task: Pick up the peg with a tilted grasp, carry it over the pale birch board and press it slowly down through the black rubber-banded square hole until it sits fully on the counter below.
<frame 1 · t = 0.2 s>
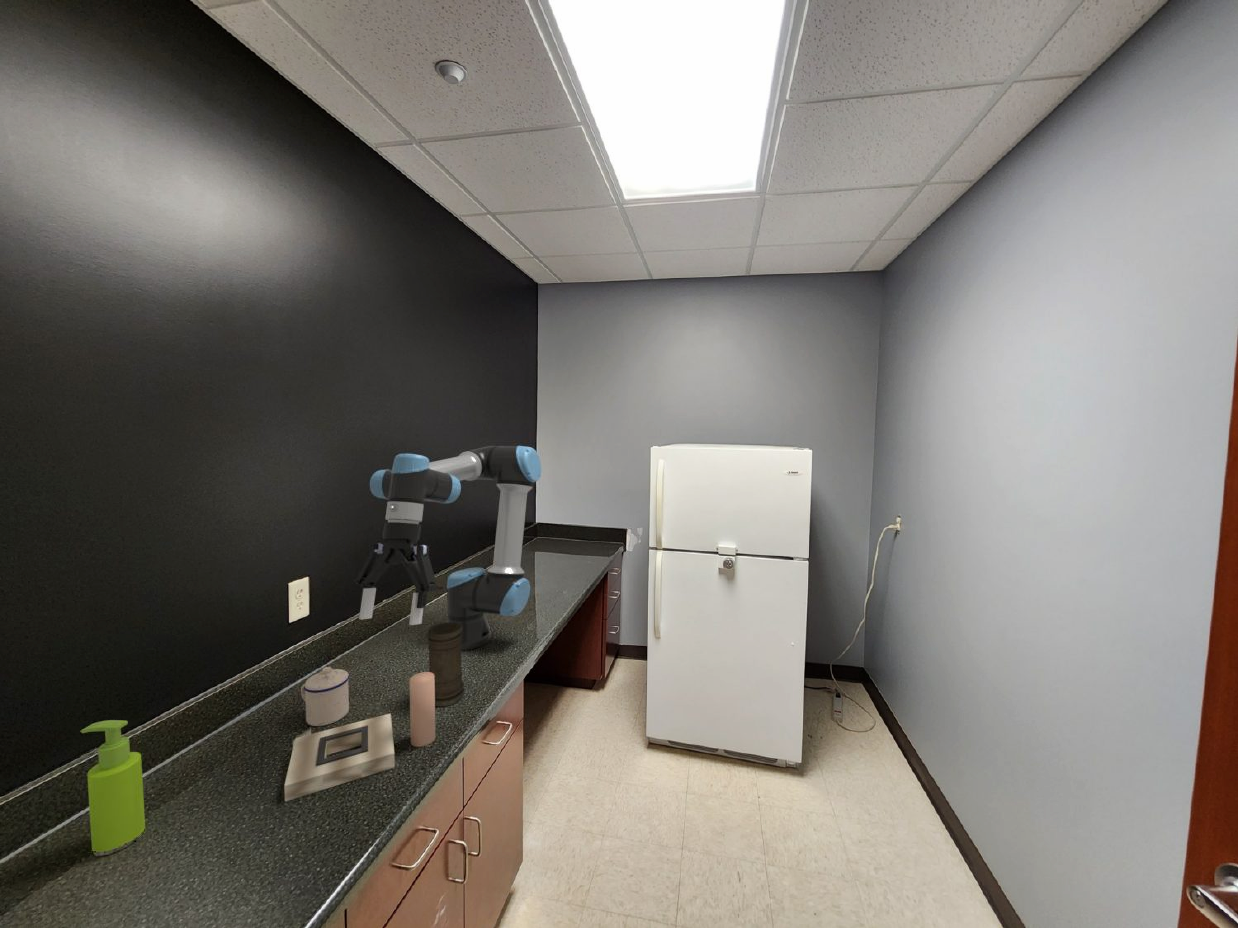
hand: (389, 621, 98), 27 cm above the worktop, tool pointing down, fingers open, 13 cm apart
band board: (344, 759, 94), on the worktop
soap dispenser: (116, 841, 75), on the worktop
peg: (423, 739, 100), on the worktop
container: (446, 697, 117), on the worktop
teacup with lid: (323, 715, 109), on the worktop
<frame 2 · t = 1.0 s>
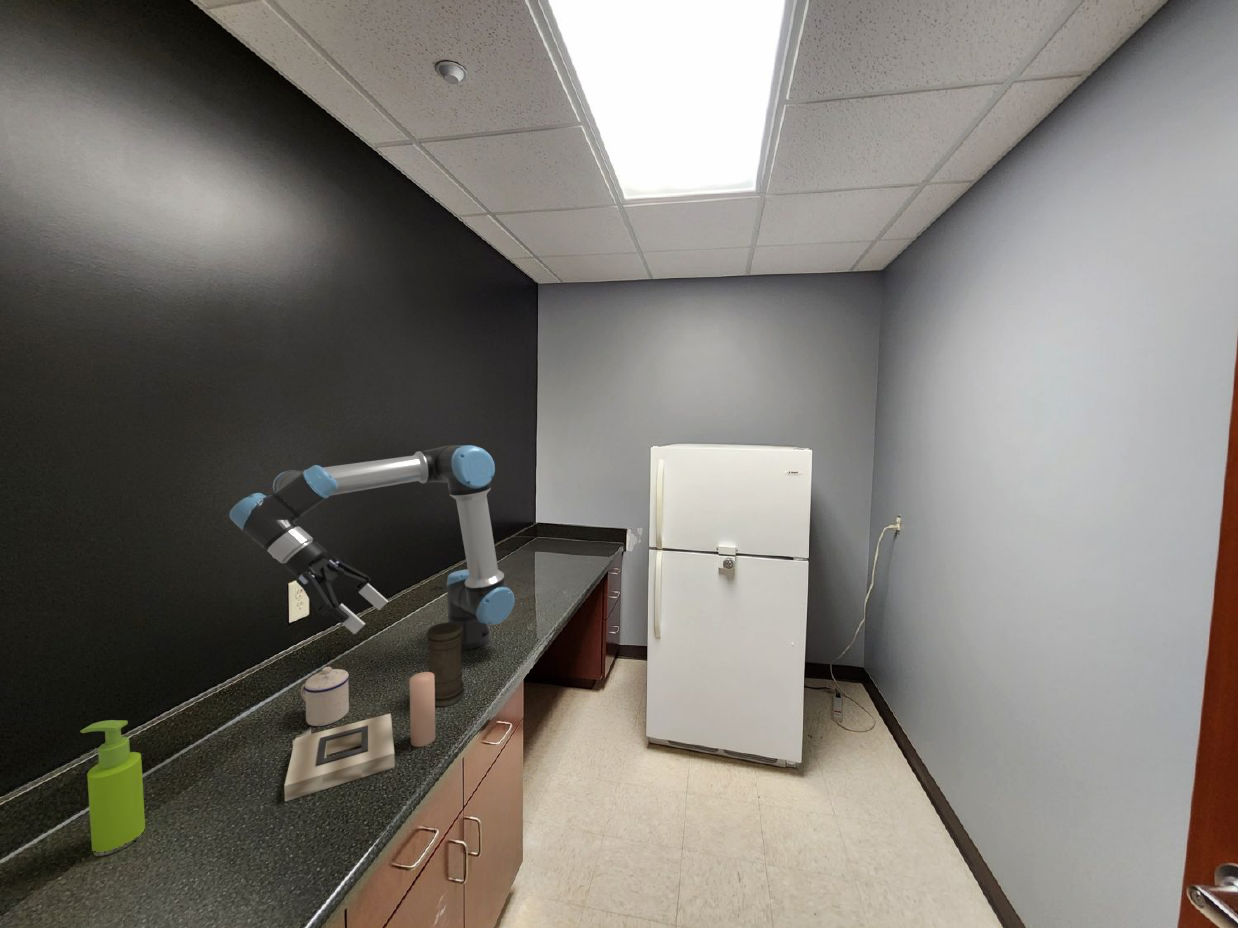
hand: (372, 616, 103), 26 cm above the worktop, tool tilted 45°, fingers open, 13 cm apart
nothing on the worktop moved.
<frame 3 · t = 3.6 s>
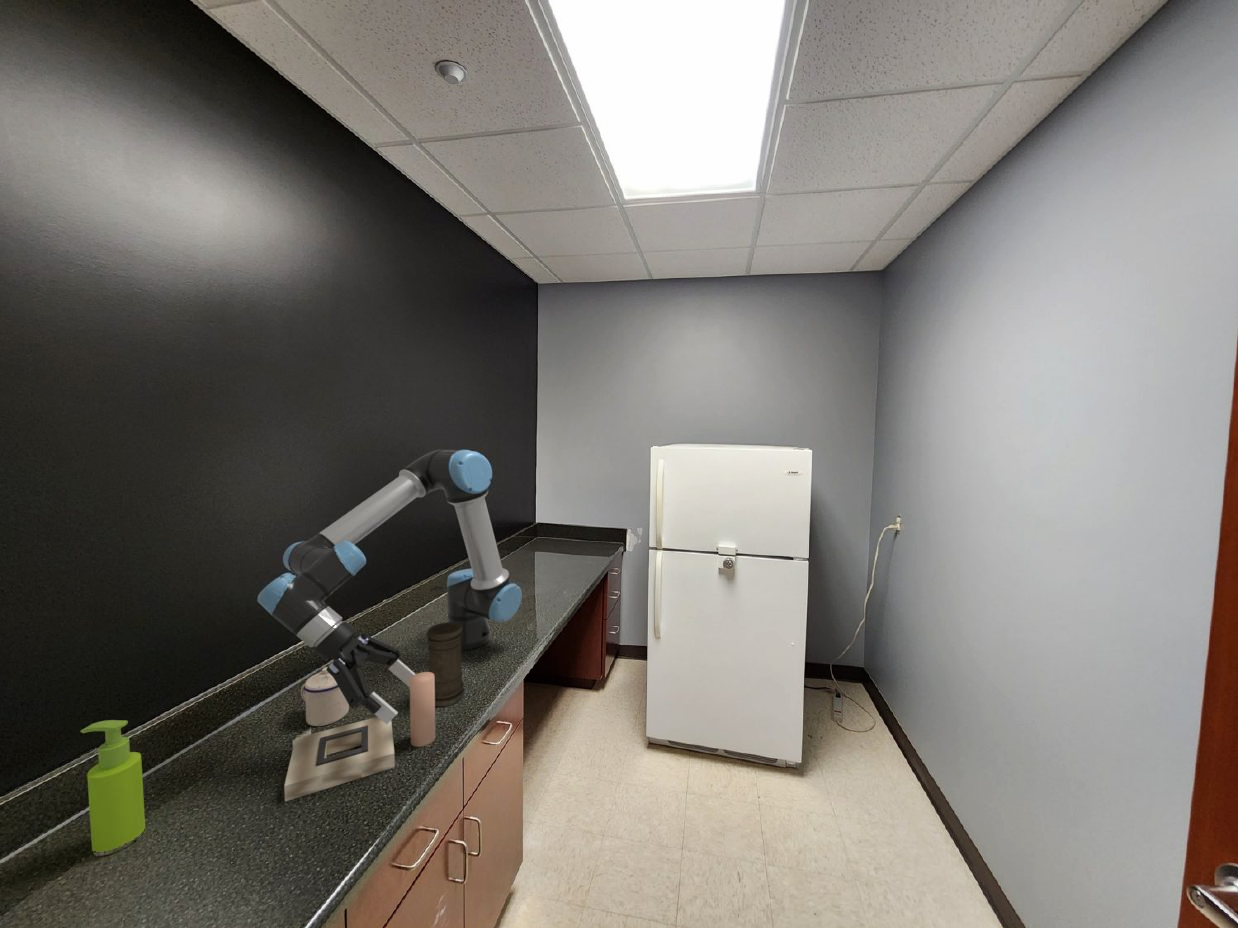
hand: (404, 699, 98), 10 cm above the worktop, tool tilted 45°, fingers open, 13 cm apart
nothing on the worktop moved.
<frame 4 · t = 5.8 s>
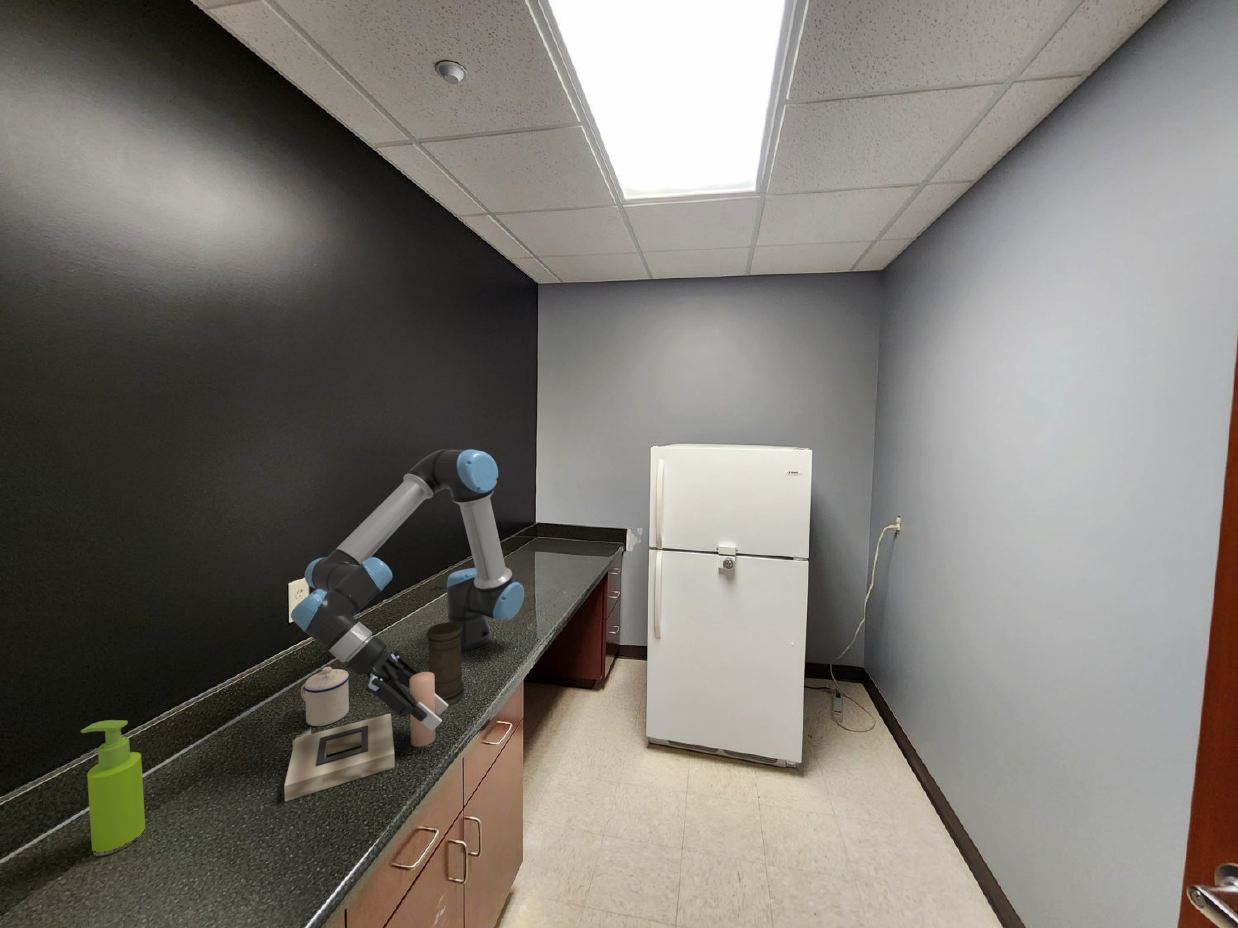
hand: (440, 717, 100), 5 cm above the worktop, tool tilted 45°, fingers closed on peg, 5 cm apart
peg: (423, 739, 100), on the worktop, touching gripper
everything else where it was.
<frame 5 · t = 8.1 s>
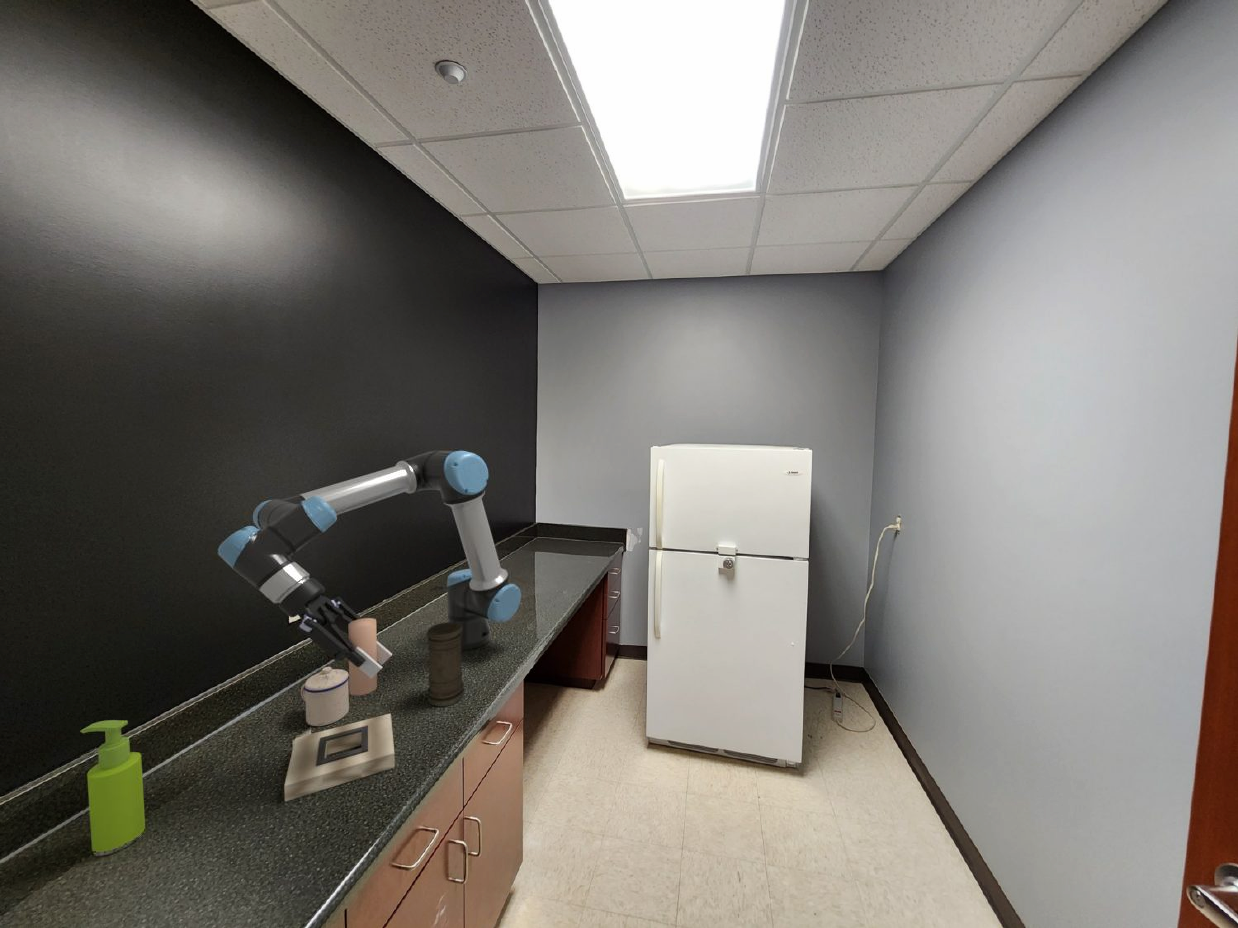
hand: (382, 665, 94), 19 cm above the worktop, tool tilted 45°, fingers closed on peg, 5 cm apart
peg: (363, 688, 94), point 14 cm above the worktop, touching gripper
everything else where it was.
when the fingers open (6 cm above the worktop, at t = 10.8 s): peg stays where it is, resting in band board.
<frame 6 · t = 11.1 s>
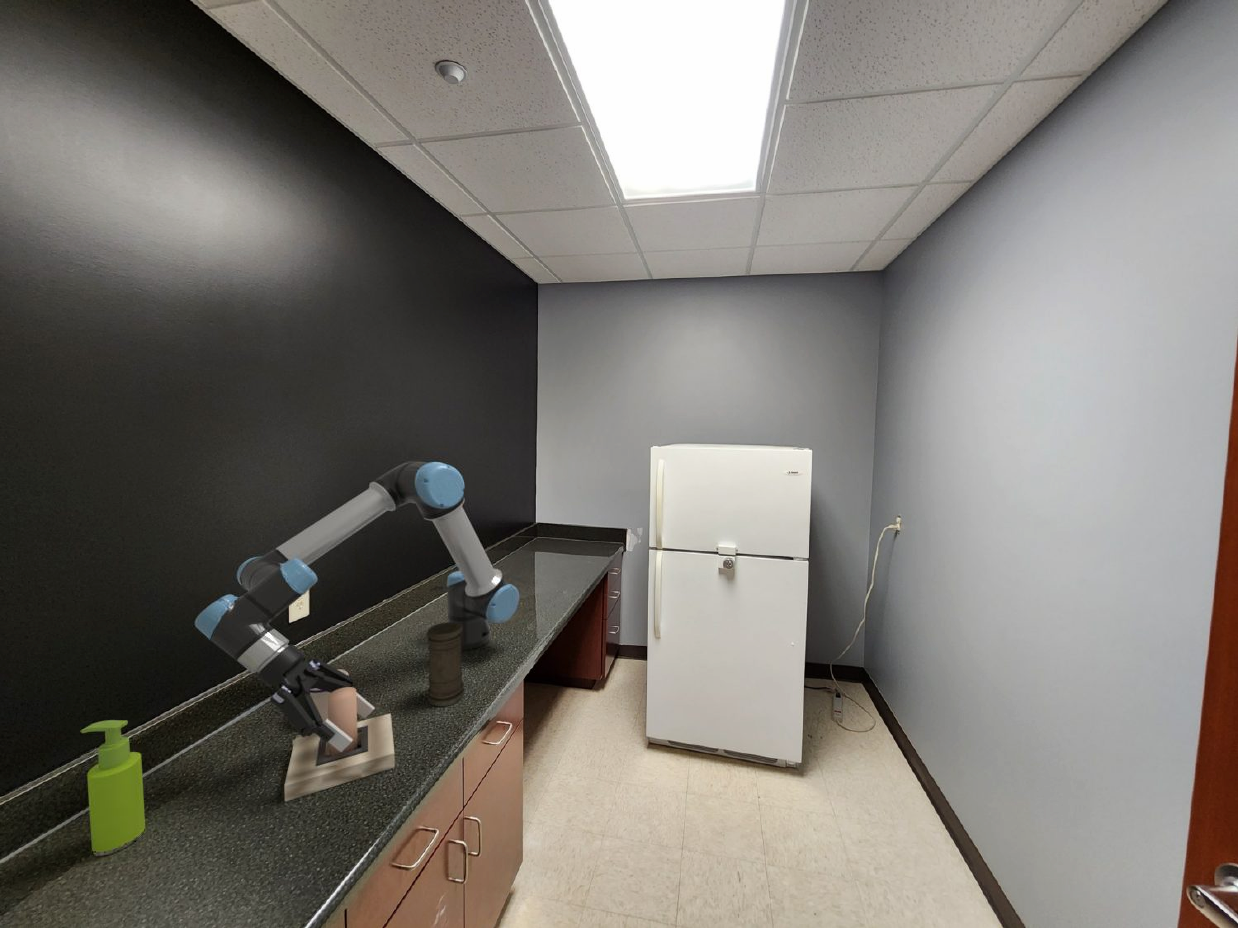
hand: (359, 728, 94), 6 cm above the worktop, tool tilted 45°, fingers open, 10 cm apart
peg: (344, 759, 94), resting in band board
everything else where it was.
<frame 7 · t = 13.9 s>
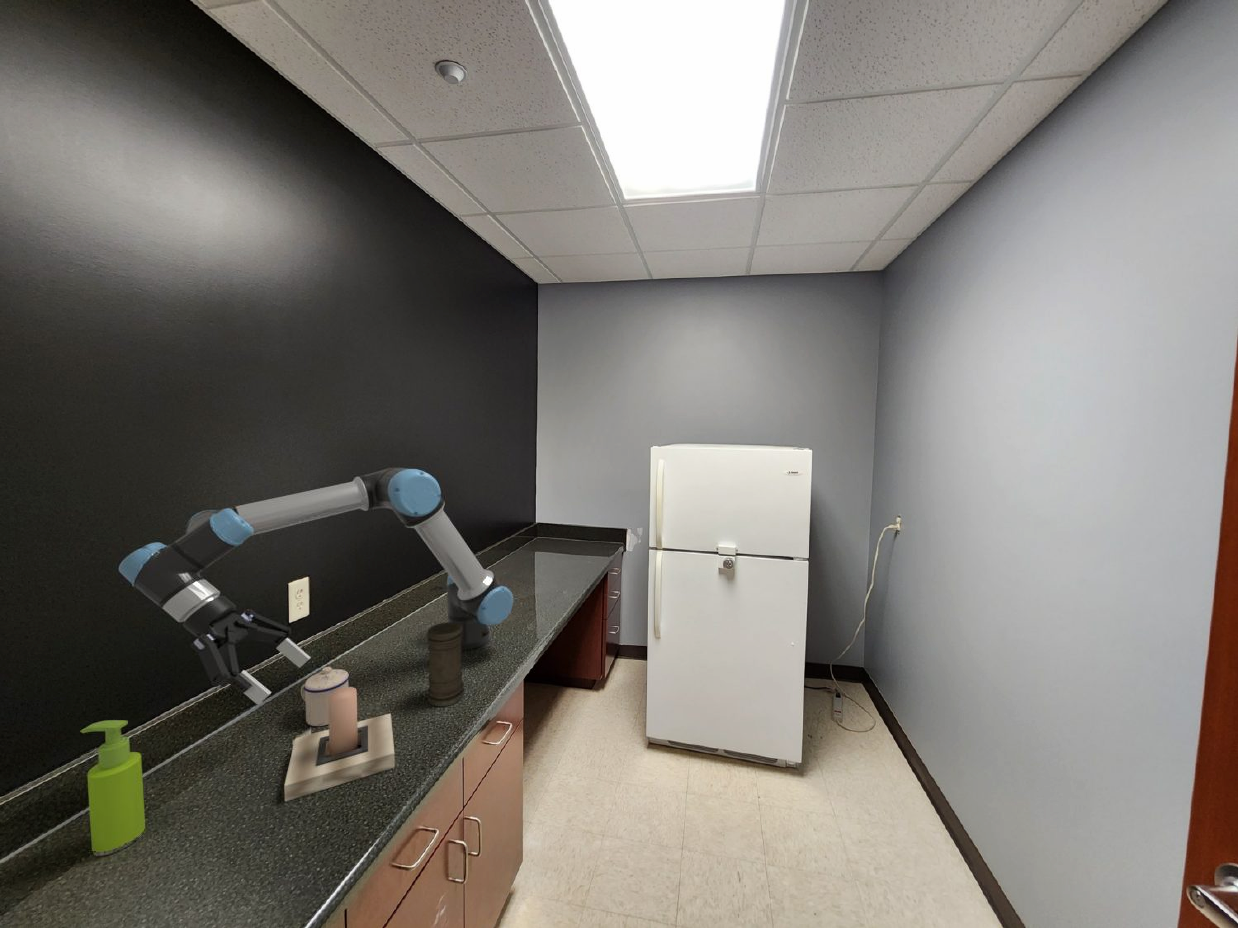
hand: (286, 679, 92), 17 cm above the worktop, tool tilted 45°, fingers open, 13 cm apart
nothing on the worktop moved.
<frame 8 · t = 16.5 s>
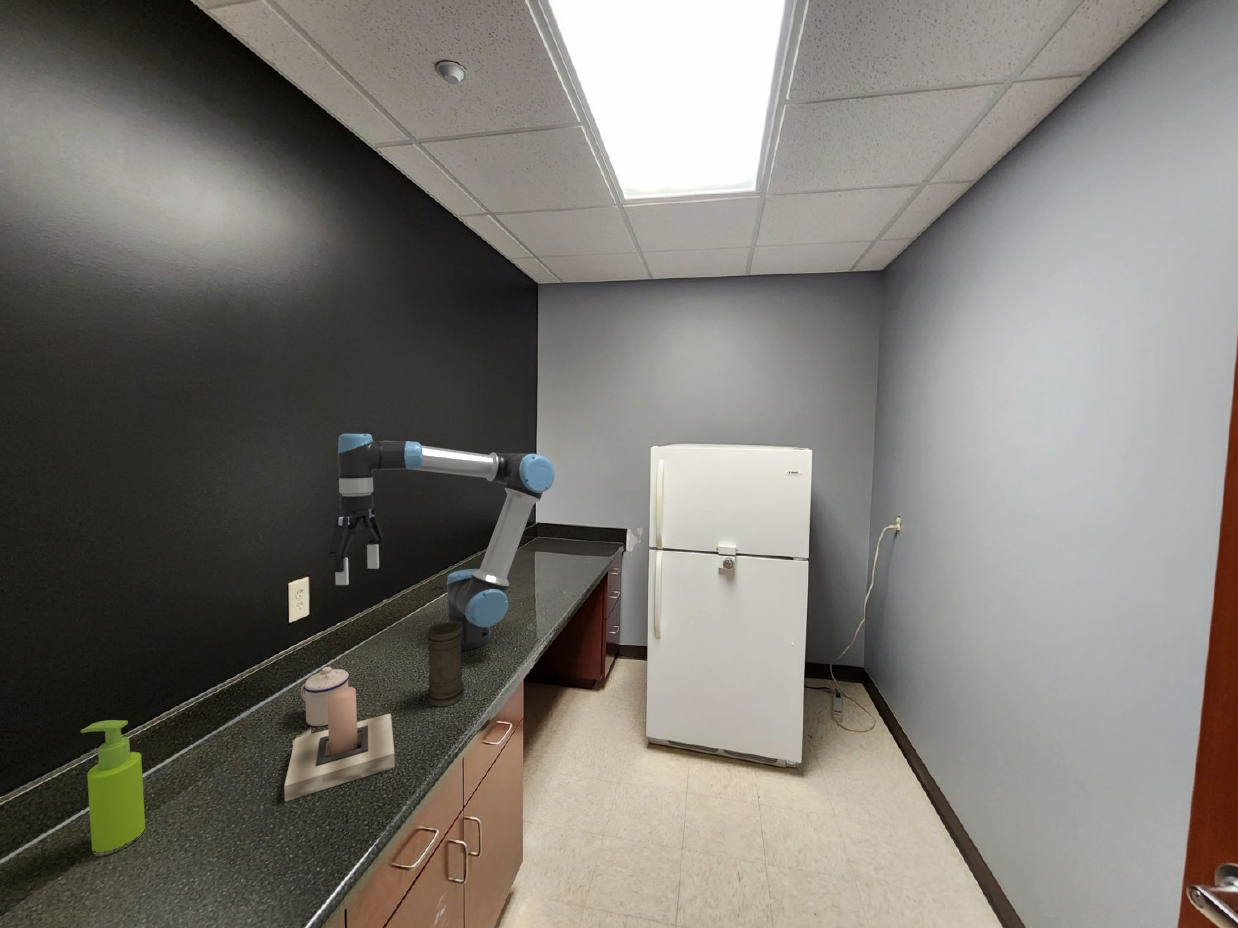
hand: (358, 575, 117), 31 cm above the worktop, tool pointing down, fingers open, 13 cm apart
nothing on the worktop moved.
at the end: peg 0.1 cm off-centre on the band board, point 0.0 cm above the band board's base; peg tilted 0°; the gripper is holding nothing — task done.
